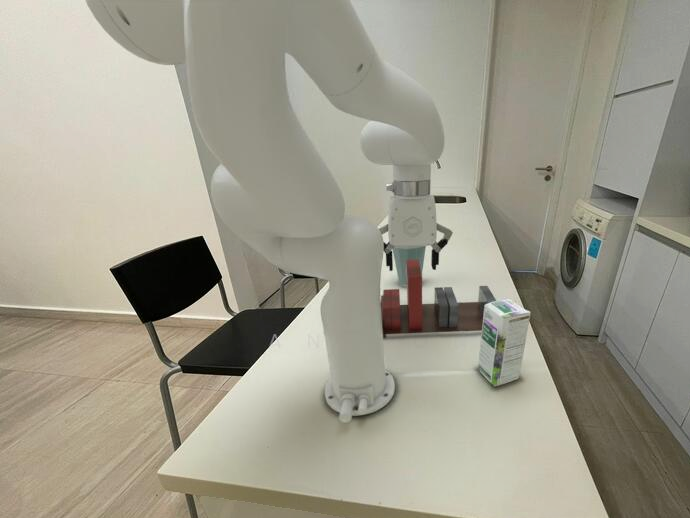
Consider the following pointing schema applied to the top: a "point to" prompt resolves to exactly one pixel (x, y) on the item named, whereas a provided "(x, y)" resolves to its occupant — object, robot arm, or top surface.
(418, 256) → the disposable coffee cup
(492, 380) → the syrup box
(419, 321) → the red book
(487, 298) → the book rack
